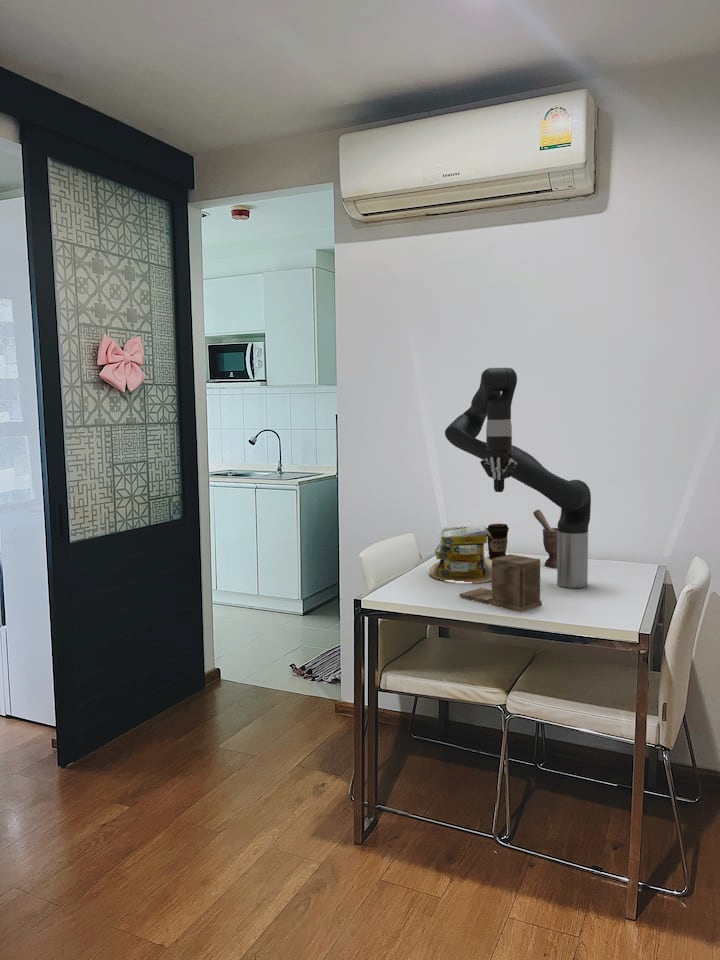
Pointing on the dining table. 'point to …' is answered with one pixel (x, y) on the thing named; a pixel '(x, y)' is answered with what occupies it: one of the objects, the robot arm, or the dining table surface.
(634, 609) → the dining table surface
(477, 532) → the stacked packages on board
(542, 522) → the mortar and pestle
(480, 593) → the walnut socket base
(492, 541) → the coffee cup
